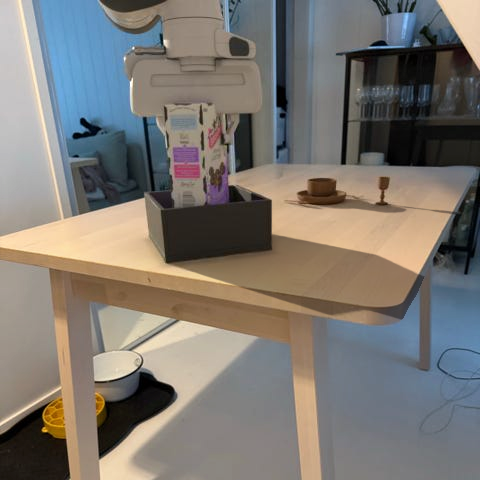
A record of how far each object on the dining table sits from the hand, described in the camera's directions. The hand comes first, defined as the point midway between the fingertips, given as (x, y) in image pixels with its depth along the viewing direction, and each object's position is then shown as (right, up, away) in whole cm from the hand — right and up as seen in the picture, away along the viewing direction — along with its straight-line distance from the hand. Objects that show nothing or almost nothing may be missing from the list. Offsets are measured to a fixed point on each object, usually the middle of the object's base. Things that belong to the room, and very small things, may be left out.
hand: (200, 146), depth 73 cm
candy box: (0, -10, +4) cm, 10 cm away
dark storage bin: (0, -14, +7) cm, 16 cm away
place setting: (+29, 0, +36) cm, 46 cm away
